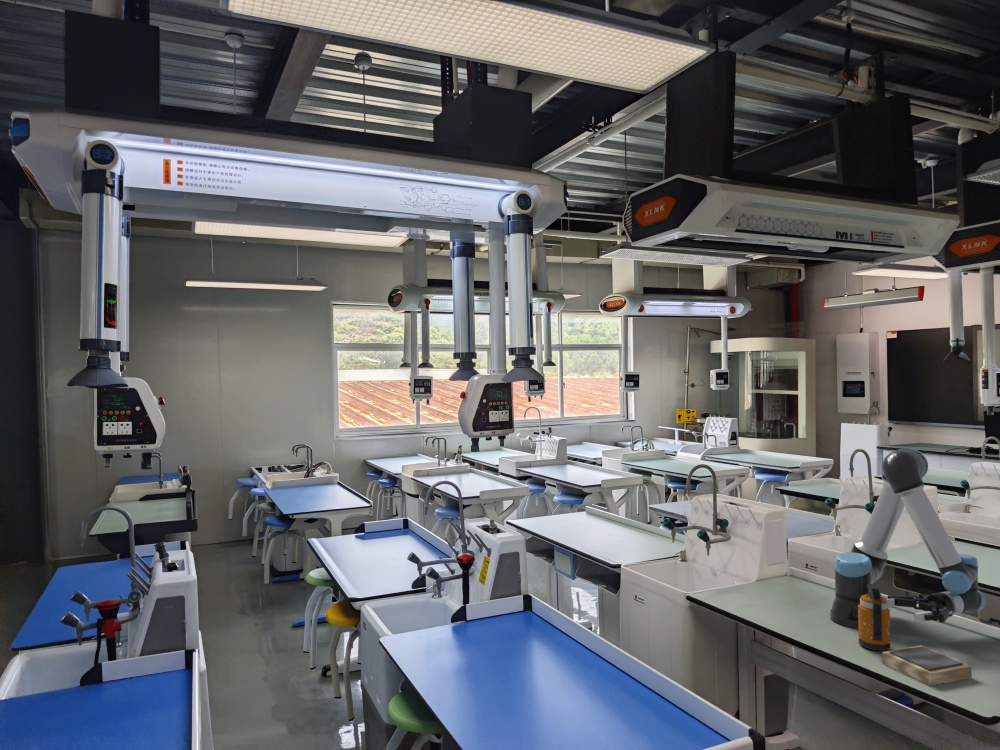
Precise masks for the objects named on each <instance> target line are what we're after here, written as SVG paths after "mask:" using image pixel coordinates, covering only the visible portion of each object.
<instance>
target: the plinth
mask: <svg viewBox="0 0 1000 750" xmlns="http://www.w3.org/2000/svg"><path fill="white" fill-rule="evenodd" d="M881 655H882V656H881V657H882V658H881V659H882V660H881V664H882V663H883V664H882V665H884V664H886V665H885V666H887V665H888V666H887V667H889V666H890V667H889V668H891V667H892V669H893V668H894V669H893V670H895V669H896V671H897V670H898V671H897V672H899V671H901V672H900V673H902V672H903V673H902V674H904V673H905V674H904V675H906V674H907V675H906V676H908V675H909V676H908V677H910V676H911V677H910V678H912V677H914V678H916V679H915V680H917V679H918V680H917V681H919V680H920V681H919V682H921V681H922V682H921V683H923V682H924V683H923V684H925V683H926V684H925V685H927V684H928V685H927V686H929V685H934V686H937V685H936V684H939V685H942V684H941V683H944V684H949V683H953V682H958V681H964V680H968V679H969V680H970V679H972V674H973V673H972V672H973V670H972V665H970V664H969V663H968V664H967V663H965V662H962V661H960V660H958V659H955V658H952V657H950V656H948V655H945V654H943V653H941V652H939V651H936V650H934V649H931V648H929V647H926V646H924V645H916V646H910V647H904V648H899V649H893V650H887V651H886V650H885V651H882V652H881ZM914 678H913V679H914Z"/></svg>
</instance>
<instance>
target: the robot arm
mask: <svg viewBox="0 0 1000 750" xmlns="http://www.w3.org/2000/svg"><path fill="white" fill-rule="evenodd" d="M881 468H882V471H883V474H882V476H881V480H882V481H883V486H882V488H881V490H880V493H879V495H878V498H877V501H876V502H875V505H874V506H873V507H874V508H873V510H872V513H871V515H870V517H869V520H868V522H867V525H866V527H865V530H864V532H863V534H862V536H861V538H860V540H858V541H855V542H854V544H853V546H852V548H851V551H849V552H842V553H839V554H838V555H837V556H836V557H835V559H834V584H835V586H834V587H835V588H834V589H835V591H834V593H835V594H834V596H835V597H834V600H833V603H832V606H831V609H830V611H829V614H830V615H829V616H830V617H829V619H830V620H831V621H833V623H836V624H838V625H841V626H843V627H844V626H845V627H848V628H849V627H850V628H853V629H858V605H859V604H860V598H861V596H862V595H869V590H868V588H867V585H868V584H875V582H877V581H879V580H880V579H881V578H882V577H883V575H884V573H885V569H886V568H885V567H886V563H887V560H888V558H889V555H888V553H887V552H886V551H887V548H888V546H889V543H890V541H891V539H892V536H893V534H894V532H895V530H896V527H897V524H898V522H899V520H900V518H901V516H902V514H903V511H904V508H905V509H906V511H907V513H908V515H909V516H910V519H911V520H912V522H913V524H914V526H915V528H916V530H917V531H918V534H919V536H920V537H921V539H922V541H923V543H924V544H925V546H926V548H927V551H928V553H929V554H930V556H931V557H932V560H933V562H934V563H935V565H936V567H937V569H938V571H939V573H940V576H941V583H942V586H943V587H944V589H945V590H946V591H939V592H936V593H935V592H934V593H931V594H929V595H927V597H926V598H918V596H917V595H911V596H910V595H887V598H888V600H887V599H886V600H887V602H888V608H889V609H890V608H894V607H905V608H913V609H914V610H918V611H921V612H914V613H913V615H914V617H913V619H914V621H913V622H914V623H915V624H916V623H917V624H918V623H923V622H930V621H934V622H937V621H939V623H941V624H943V623H945V622H946V621H947V619H949V618H950V617H953V616H955V615H960V614H967V613H968V614H969V613H974V612H979V611H982V610H983V609H985V607H986V603H987V601H986V597H985V595H984V593H983V592H982V591H980V590H979V572H978V571H979V565H978V563H979V562H978V558H977V557H976V556H973V555H972V554H971V555H970V554H967V553H958V551H957V549H956V548H955V547H956V546H955V544H954V543H953V542H952V540H951V538H950V536H949V534H948V532H947V531H946V528H945V526H944V524H943V523H942V521H941V519H940V518H939V516H938V514H937V512H936V510H935V508H934V506H933V504H932V503H931V501H930V499H929V497H928V495H927V494H926V492H925V489H924V488H925V486H926V485H925V483H924V482H923V478H924V477H925V476H926V474H927V473H928V471H929V462H928V459H927V457H926V456H925V455H924V454H923V452H921V451H919V450H917V449H914V448H907V447H903V448H900V449H897V450H895V451H894V450H893V451H892V452H890V453H888V454H887V455H886V456H885V457H884V458H883V462H882V467H881Z"/></svg>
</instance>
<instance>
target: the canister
mask: <svg viewBox="0 0 1000 750" xmlns="http://www.w3.org/2000/svg"><path fill="white" fill-rule="evenodd" d="M867 588H868V590H869V595H862V596H861V598H860V604H859V605H858V628H857V629H858V644H859V645H860V646H862V647H864V648H866V649H868V650H871V649H872V650H871V651H877V650H879V651H881V650H882V651H886V650H887V651H888V650H890V649H891V624H890V623H891V622H890V621H891V614H890V612H891V610H890V608H888V602H887V600H888V597H886V596H884V595H882V594H881V589H880V588H879V587H878V585H877V584H875V583H873V584H868V585H867ZM886 599H887V600H886Z"/></svg>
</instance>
